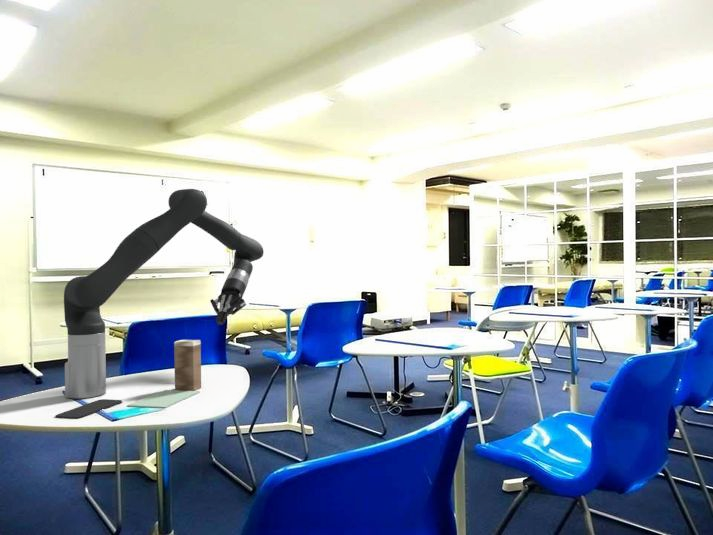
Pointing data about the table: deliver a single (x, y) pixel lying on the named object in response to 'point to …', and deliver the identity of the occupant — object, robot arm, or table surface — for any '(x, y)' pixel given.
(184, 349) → the walnut block
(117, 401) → the phone
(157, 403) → the green mat
